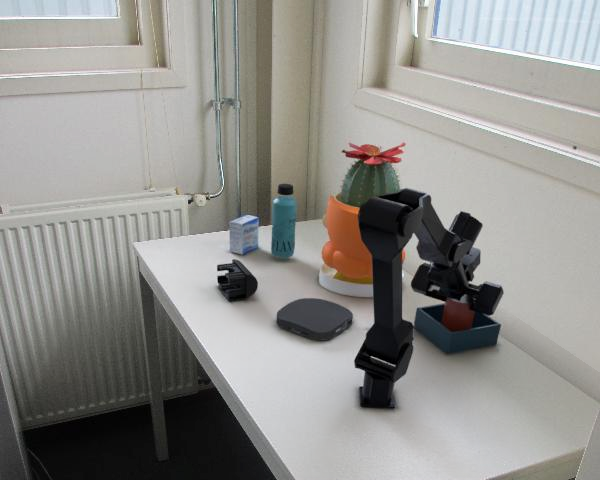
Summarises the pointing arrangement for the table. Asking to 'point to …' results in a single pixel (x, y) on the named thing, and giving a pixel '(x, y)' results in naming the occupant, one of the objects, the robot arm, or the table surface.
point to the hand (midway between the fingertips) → (462, 305)
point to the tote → (453, 342)
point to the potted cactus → (356, 220)
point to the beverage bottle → (283, 222)
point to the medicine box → (244, 234)
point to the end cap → (236, 281)
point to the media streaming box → (314, 318)
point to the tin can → (458, 314)
